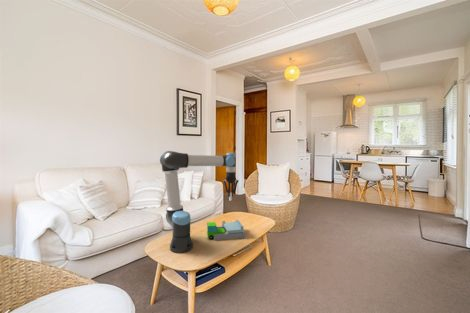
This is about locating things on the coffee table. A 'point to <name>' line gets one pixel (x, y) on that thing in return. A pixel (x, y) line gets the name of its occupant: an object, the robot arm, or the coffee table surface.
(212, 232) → the toy car
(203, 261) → the coffee table surface
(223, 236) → the grey long bars
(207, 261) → the coffee table surface
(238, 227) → the cover
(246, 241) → the coffee table surface
